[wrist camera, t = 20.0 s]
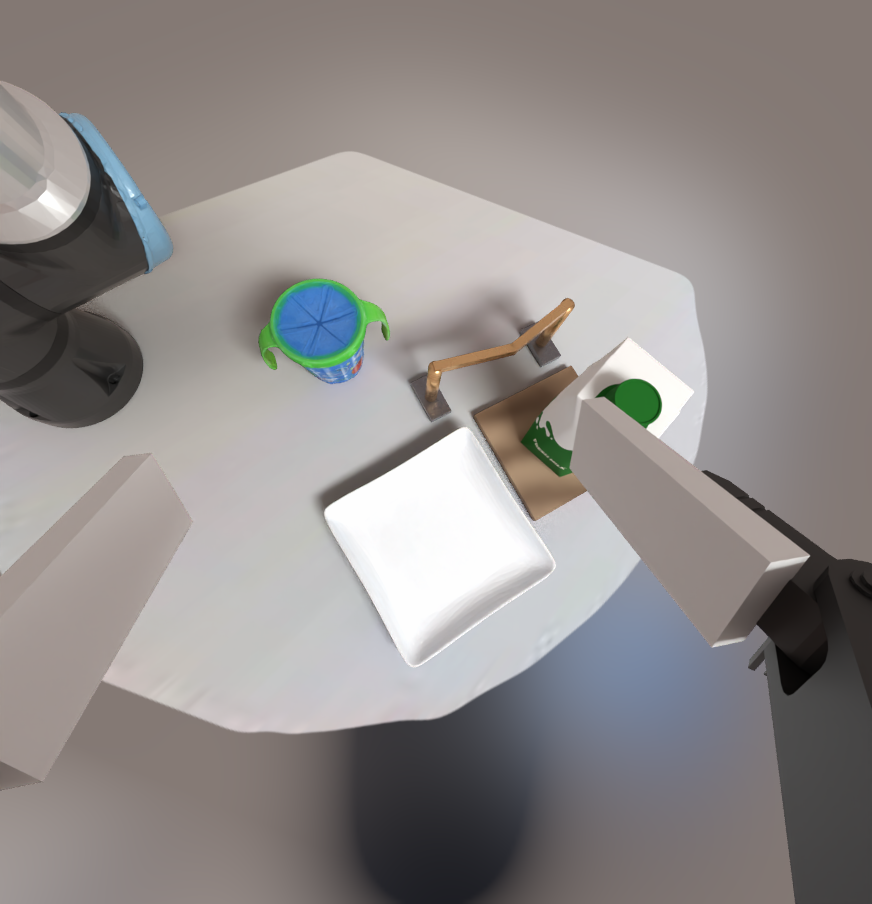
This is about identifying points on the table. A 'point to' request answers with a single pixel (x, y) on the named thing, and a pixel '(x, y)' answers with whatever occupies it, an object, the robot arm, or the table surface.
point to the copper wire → (492, 358)
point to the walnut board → (521, 466)
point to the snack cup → (321, 329)
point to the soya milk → (621, 382)
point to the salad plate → (438, 544)
